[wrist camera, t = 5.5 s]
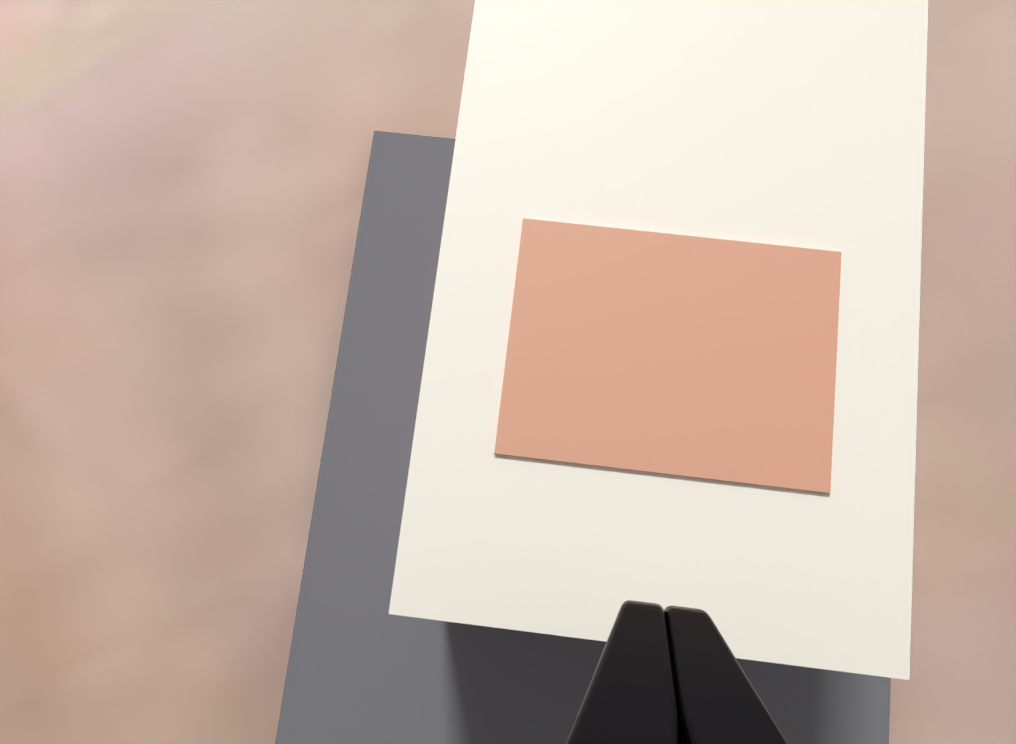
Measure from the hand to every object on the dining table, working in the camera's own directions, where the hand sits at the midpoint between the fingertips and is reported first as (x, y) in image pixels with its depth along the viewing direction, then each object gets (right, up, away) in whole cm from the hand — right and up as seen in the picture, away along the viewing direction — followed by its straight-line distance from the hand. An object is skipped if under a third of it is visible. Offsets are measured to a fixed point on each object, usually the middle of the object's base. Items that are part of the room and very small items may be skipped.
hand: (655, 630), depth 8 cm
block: (0, -1, +4) cm, 4 cm away
